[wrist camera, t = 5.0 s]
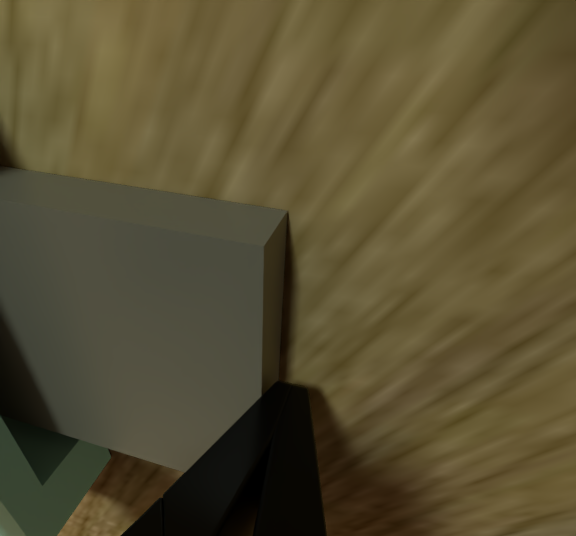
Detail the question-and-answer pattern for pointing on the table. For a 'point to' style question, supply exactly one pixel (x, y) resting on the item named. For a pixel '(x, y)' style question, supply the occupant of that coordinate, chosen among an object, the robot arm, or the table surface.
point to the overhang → (43, 477)
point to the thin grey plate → (135, 312)
